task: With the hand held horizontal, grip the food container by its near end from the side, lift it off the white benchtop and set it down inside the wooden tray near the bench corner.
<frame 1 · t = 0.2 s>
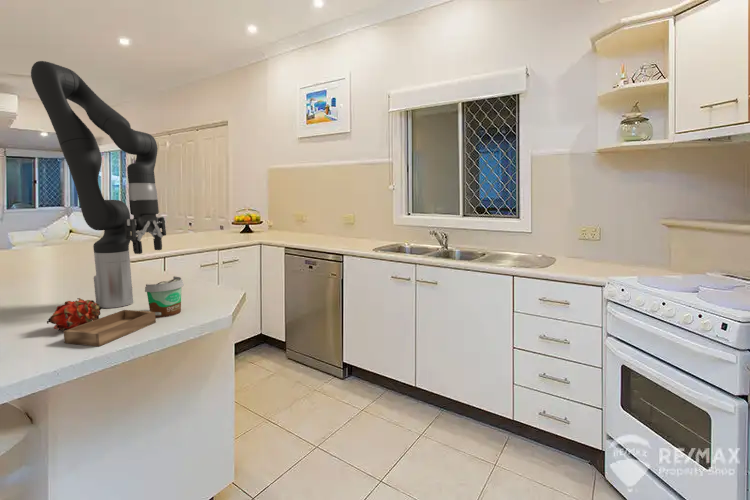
hand: (148, 251, 122), 17 cm above the table, tool pointing down, fingers open, 8 cm apart
dragon fruit: (76, 329, 104), on the table
wooden tray: (113, 332, 101), on the table
food container: (171, 314, 117), on the table
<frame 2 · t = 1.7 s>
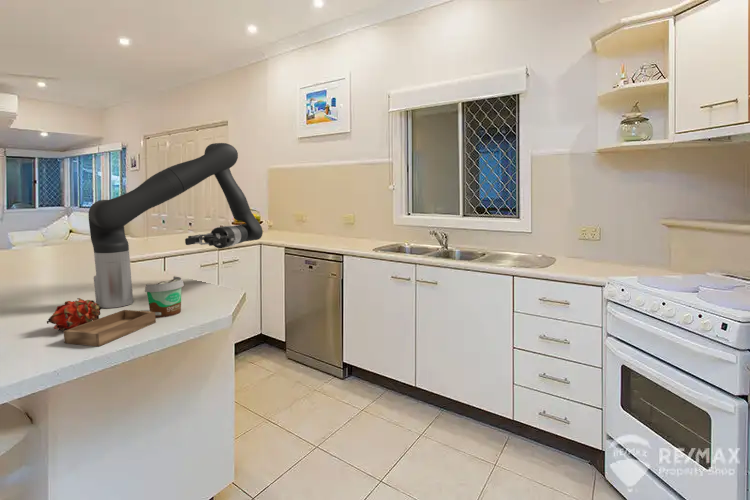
hand: (197, 242, 128), 20 cm above the table, tool horizontal, fingers open, 8 cm apart
nothing on the table moved.
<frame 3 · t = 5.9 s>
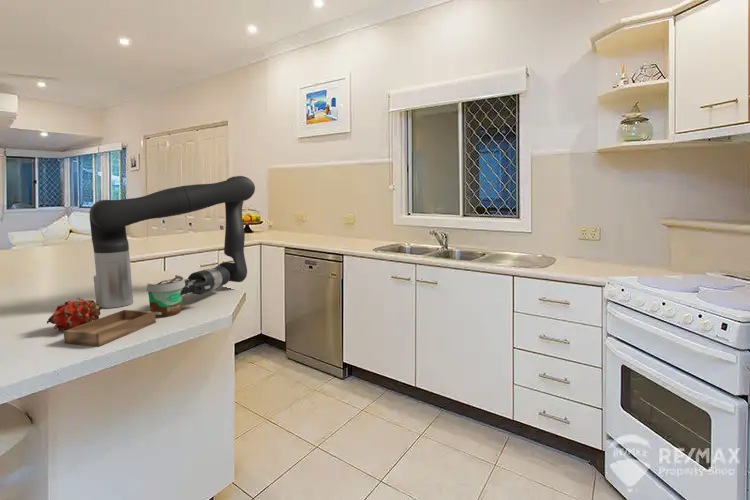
hand: (169, 292, 117), 6 cm above the table, tool horizontal, fingers open, 4 cm apart
food container: (171, 313, 117), on the table, touching gripper
everything else where it was.
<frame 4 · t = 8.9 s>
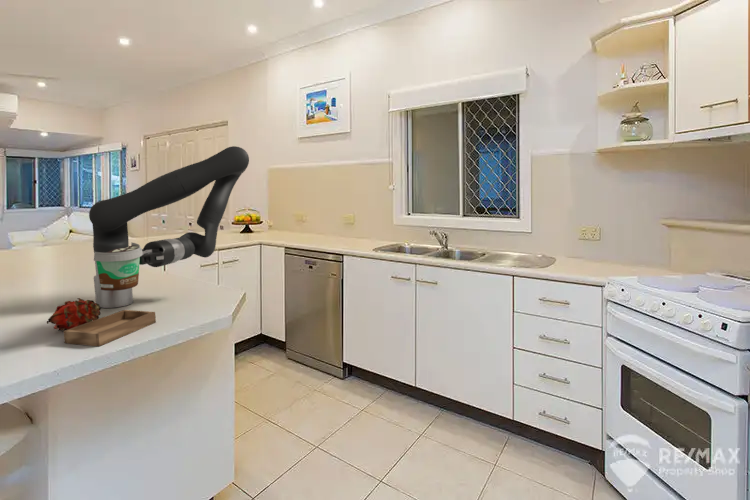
hand: (117, 262, 101), 18 cm above the table, tool horizontal, fingers closed on food container
food container: (126, 286, 102), point 11 cm above the table, touching gripper
everything else where it was.
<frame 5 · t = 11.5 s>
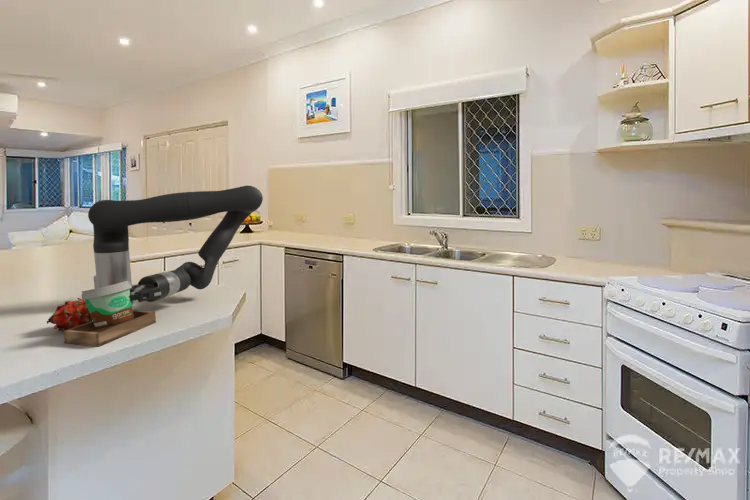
hand: (110, 300, 100), 8 cm above the table, tool horizontal, fingers closed on food container, 3 cm apart
food container: (122, 322, 101), point 2 cm above the table, touching wooden tray, gripper
everything else where it was.
when the fingers open (8 cm above the table, at t = 11.5 s): food container drops 2 cm, resting on wooden tray.
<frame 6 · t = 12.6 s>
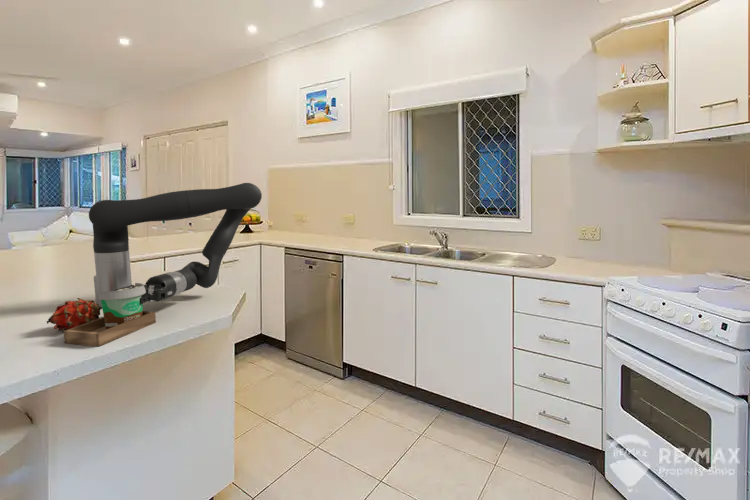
hand: (122, 300, 104), 7 cm above the table, tool horizontal, fingers open, 8 cm apart
food container: (131, 325, 104), point 1 cm above the table, touching wooden tray, gripper
everything else where it was.
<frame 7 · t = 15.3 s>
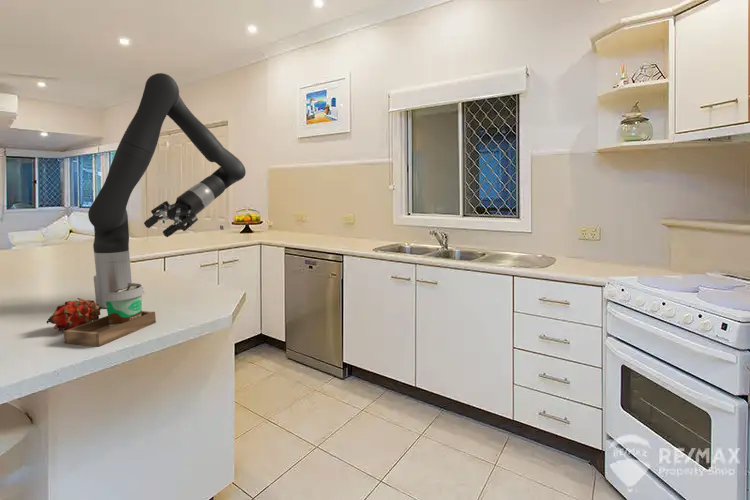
hand: (155, 230, 119), 24 cm above the table, tool tilted 55°, fingers open, 8 cm apart
food container: (132, 325, 105), point 1 cm above the table, touching wooden tray
everything else where it was.
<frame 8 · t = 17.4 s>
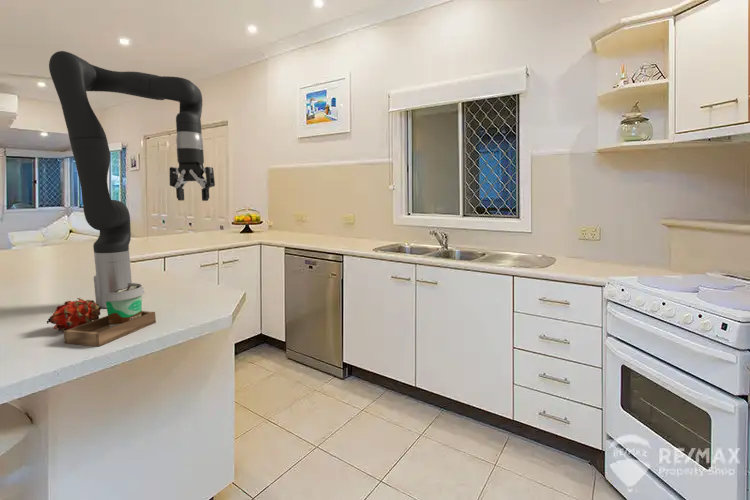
hand: (193, 200, 125), 33 cm above the table, tool pointing down, fingers open, 8 cm apart
nothing on the table moved.
at the end: food container inside the target area on the wooden tray (4.5 cm from its centre), point 0.6 cm above the wooden tray's base; food container tilted 0°; the gripper is holding nothing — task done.
